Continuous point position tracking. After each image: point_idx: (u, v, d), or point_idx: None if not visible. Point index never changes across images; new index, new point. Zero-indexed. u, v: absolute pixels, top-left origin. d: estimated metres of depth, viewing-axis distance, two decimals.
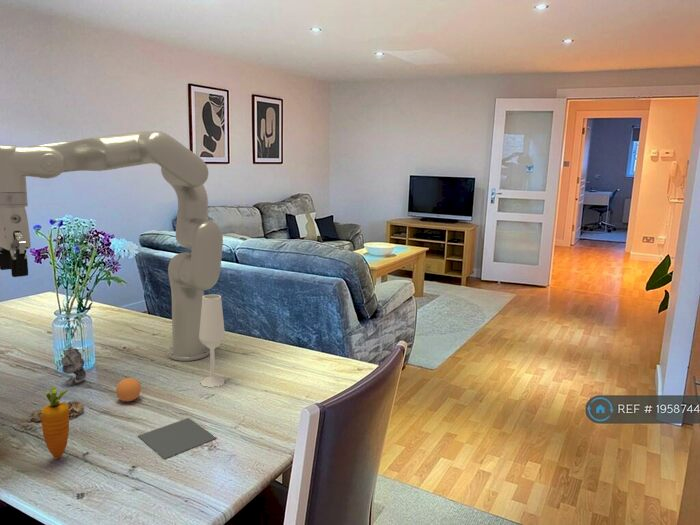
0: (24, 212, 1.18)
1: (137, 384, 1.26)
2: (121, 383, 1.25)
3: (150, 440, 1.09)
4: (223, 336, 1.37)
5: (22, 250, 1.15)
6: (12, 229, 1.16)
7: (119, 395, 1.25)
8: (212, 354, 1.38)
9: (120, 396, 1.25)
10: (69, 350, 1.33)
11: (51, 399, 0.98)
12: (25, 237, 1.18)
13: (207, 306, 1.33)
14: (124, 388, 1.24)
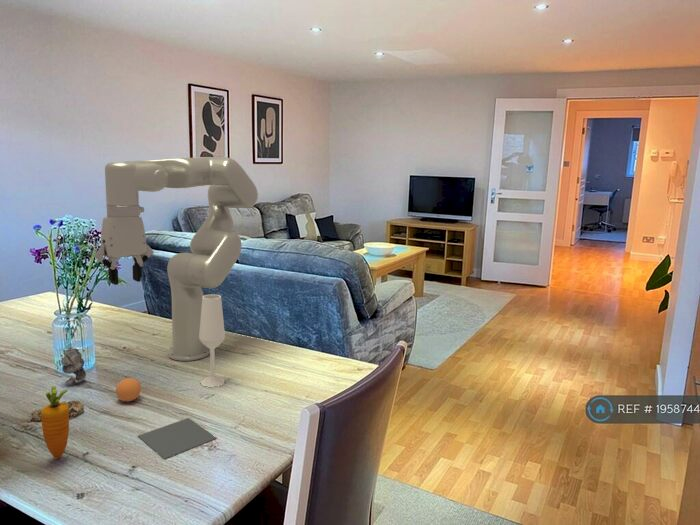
0: None
1: (137, 384, 1.26)
2: (121, 383, 1.25)
3: (150, 440, 1.09)
4: (223, 336, 1.37)
5: None
6: None
7: (119, 395, 1.25)
8: (212, 354, 1.38)
9: (120, 396, 1.25)
10: (69, 350, 1.33)
11: (51, 399, 0.98)
12: None
13: (207, 306, 1.33)
14: (124, 388, 1.24)
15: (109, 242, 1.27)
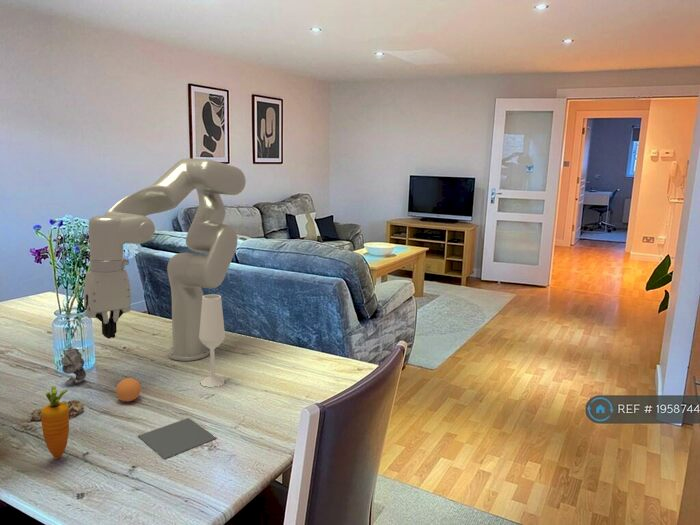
0: None
1: (137, 384, 1.26)
2: (121, 383, 1.25)
3: (150, 440, 1.09)
4: (223, 336, 1.37)
5: None
6: None
7: (119, 395, 1.25)
8: (212, 354, 1.38)
9: (120, 396, 1.25)
10: (69, 350, 1.33)
11: (51, 399, 0.98)
12: None
13: (207, 306, 1.33)
14: (124, 388, 1.24)
15: (92, 297, 1.24)
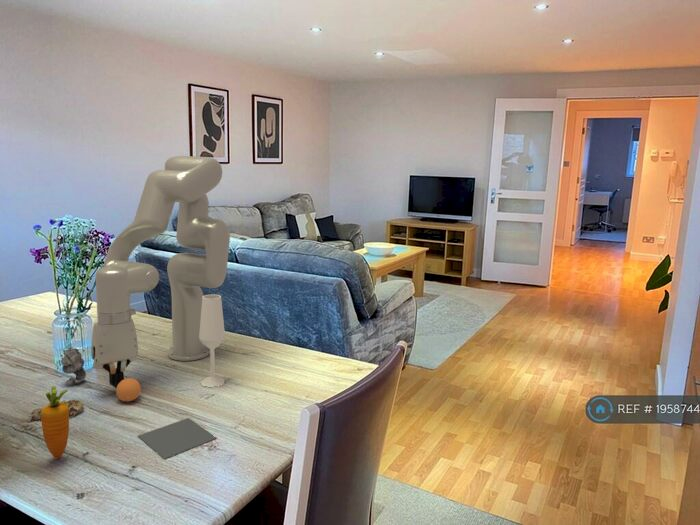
0: None
1: (137, 384, 1.26)
2: (121, 383, 1.25)
3: (150, 440, 1.09)
4: (223, 336, 1.37)
5: None
6: None
7: (119, 395, 1.25)
8: (212, 354, 1.38)
9: (120, 396, 1.25)
10: (69, 350, 1.33)
11: (51, 399, 0.98)
12: None
13: (207, 306, 1.33)
14: (124, 388, 1.24)
15: (99, 350, 1.25)
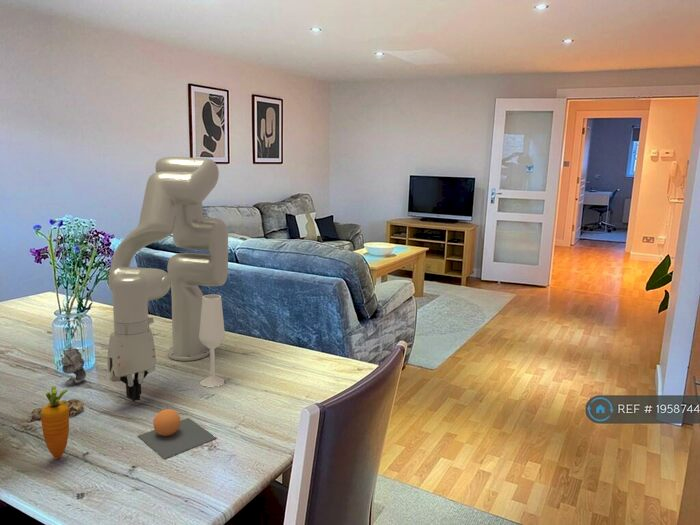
0: None
1: (178, 427, 1.11)
2: (163, 425, 1.09)
3: (150, 440, 1.09)
4: (223, 336, 1.37)
5: None
6: None
7: (155, 430, 1.10)
8: (212, 354, 1.38)
9: None
10: (69, 350, 1.33)
11: (51, 399, 0.98)
12: None
13: (207, 306, 1.33)
14: (163, 432, 1.09)
15: (117, 362, 1.18)
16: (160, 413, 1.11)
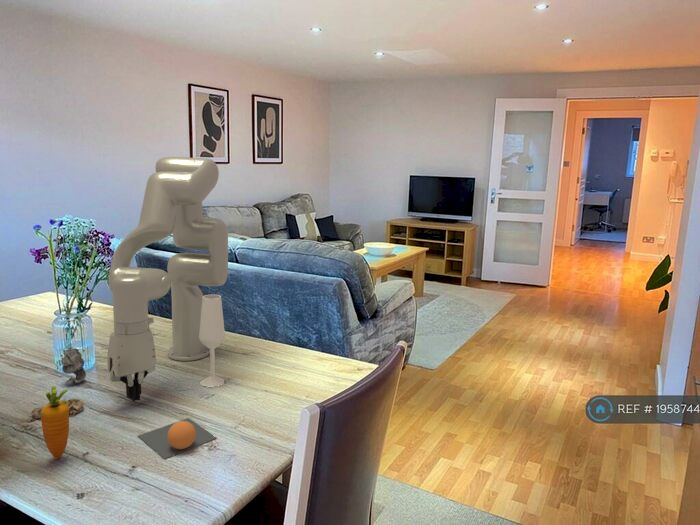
0: None
1: None
2: None
3: (150, 440, 1.09)
4: (223, 336, 1.37)
5: None
6: None
7: (168, 434, 1.06)
8: (212, 354, 1.38)
9: (168, 432, 1.06)
10: (69, 350, 1.33)
11: (51, 399, 0.98)
12: None
13: (207, 306, 1.33)
14: None
15: (117, 362, 1.18)
16: (179, 448, 1.05)
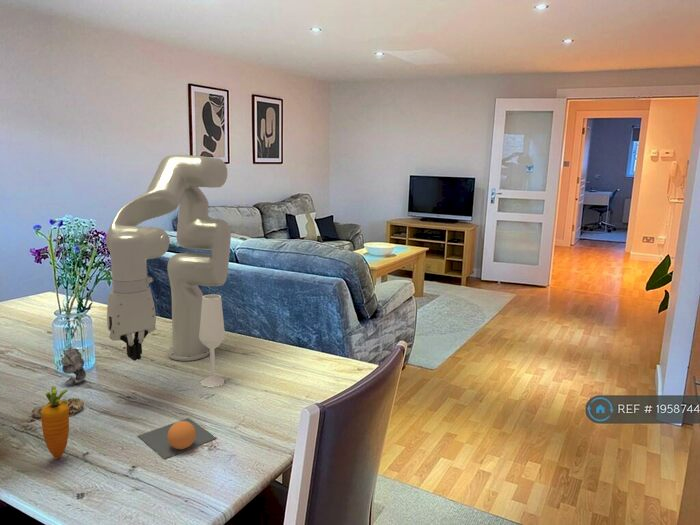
0: None
1: None
2: None
3: (150, 440, 1.09)
4: (223, 336, 1.37)
5: None
6: None
7: (168, 434, 1.06)
8: (212, 354, 1.38)
9: (168, 432, 1.06)
10: (69, 350, 1.33)
11: (51, 399, 0.98)
12: None
13: (207, 306, 1.33)
14: None
15: (116, 320, 1.17)
16: (179, 448, 1.05)
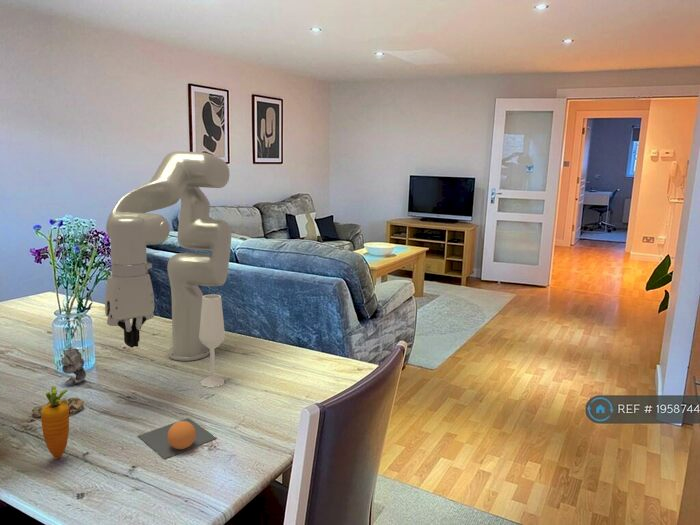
0: None
1: None
2: None
3: (150, 440, 1.09)
4: (223, 336, 1.37)
5: None
6: None
7: (168, 434, 1.06)
8: (212, 354, 1.38)
9: (168, 432, 1.06)
10: (69, 350, 1.33)
11: (51, 399, 0.98)
12: None
13: (207, 306, 1.33)
14: None
15: (114, 304, 1.16)
16: (179, 448, 1.05)
